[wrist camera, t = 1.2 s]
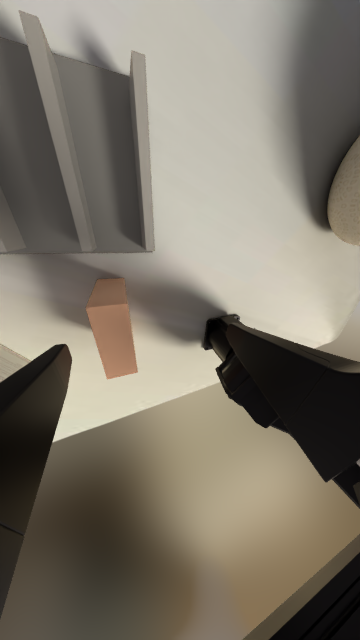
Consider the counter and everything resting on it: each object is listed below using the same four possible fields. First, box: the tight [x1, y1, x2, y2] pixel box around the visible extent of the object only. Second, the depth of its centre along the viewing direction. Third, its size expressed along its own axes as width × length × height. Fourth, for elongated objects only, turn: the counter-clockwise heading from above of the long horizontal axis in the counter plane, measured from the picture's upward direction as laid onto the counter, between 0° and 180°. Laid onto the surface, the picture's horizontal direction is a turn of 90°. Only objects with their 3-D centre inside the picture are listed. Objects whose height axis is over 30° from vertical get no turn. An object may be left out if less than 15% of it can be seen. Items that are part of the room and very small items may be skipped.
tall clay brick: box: [86, 278, 138, 379], centre depth 17 cm, size 8×3×8 cm, turn 178°
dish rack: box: [0, 10, 155, 254], centre depth 11 cm, size 12×18×4 cm, turn 88°
